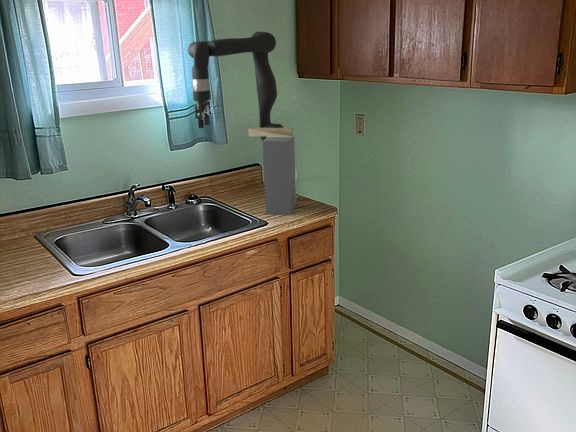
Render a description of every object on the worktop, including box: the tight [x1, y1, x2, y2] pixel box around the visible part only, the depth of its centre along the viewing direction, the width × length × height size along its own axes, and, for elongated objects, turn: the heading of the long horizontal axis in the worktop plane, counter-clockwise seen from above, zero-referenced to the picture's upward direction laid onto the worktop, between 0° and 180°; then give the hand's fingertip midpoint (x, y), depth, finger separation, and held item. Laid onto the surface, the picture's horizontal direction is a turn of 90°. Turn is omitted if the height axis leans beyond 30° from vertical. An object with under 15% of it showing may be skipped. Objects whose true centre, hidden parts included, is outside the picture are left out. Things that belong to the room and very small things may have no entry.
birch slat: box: [248, 127, 294, 137], centre depth 256 cm, size 4×19×3 cm, turn 80°
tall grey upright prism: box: [262, 133, 297, 215], centre depth 257 cm, size 14×11×32 cm
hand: (204, 126), depth 262 cm, fingers open, 8 cm apart
